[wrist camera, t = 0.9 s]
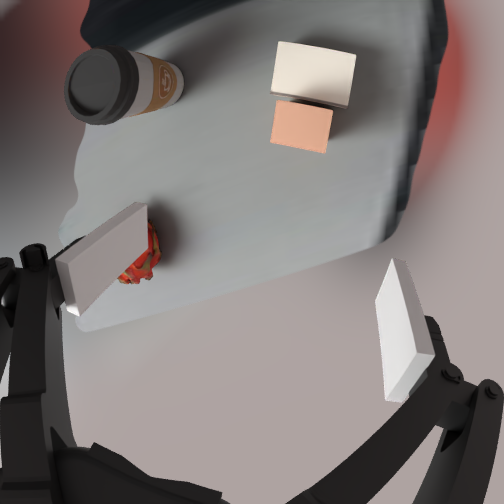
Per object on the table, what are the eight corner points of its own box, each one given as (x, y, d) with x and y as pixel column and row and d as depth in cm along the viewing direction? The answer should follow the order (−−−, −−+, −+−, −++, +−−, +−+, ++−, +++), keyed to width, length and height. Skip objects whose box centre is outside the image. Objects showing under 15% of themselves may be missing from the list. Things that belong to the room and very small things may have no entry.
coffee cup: (192, 114, 38) (126, 124, 25) (137, 116, 39) (62, 131, 26) (193, 52, 34) (127, 34, 21) (137, 59, 36) (61, 53, 22)
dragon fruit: (144, 269, 52) (153, 200, 48) (167, 294, 47) (180, 219, 43) (97, 274, 46) (103, 200, 42) (115, 303, 41) (122, 220, 37)
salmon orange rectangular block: (289, 101, 35) (276, 100, 26) (331, 109, 34) (333, 110, 25) (284, 133, 37) (270, 142, 28) (325, 141, 36) (325, 153, 27)
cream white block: (284, 49, 32) (278, 41, 27) (352, 61, 31) (356, 55, 26) (277, 95, 35) (269, 93, 30) (345, 108, 34) (347, 108, 29)
